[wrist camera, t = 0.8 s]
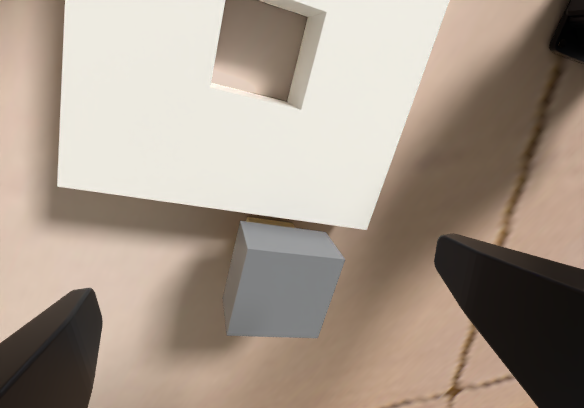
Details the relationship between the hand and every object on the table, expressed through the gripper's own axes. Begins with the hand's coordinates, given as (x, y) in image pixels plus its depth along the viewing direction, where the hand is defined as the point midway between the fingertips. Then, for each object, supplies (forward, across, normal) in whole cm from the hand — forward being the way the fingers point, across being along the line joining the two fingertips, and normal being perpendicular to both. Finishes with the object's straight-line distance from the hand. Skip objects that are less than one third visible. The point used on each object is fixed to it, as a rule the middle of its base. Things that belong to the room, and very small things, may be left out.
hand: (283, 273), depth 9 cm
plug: (+13, -1, +6) cm, 14 cm away
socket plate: (+13, -2, -5) cm, 14 cm away
